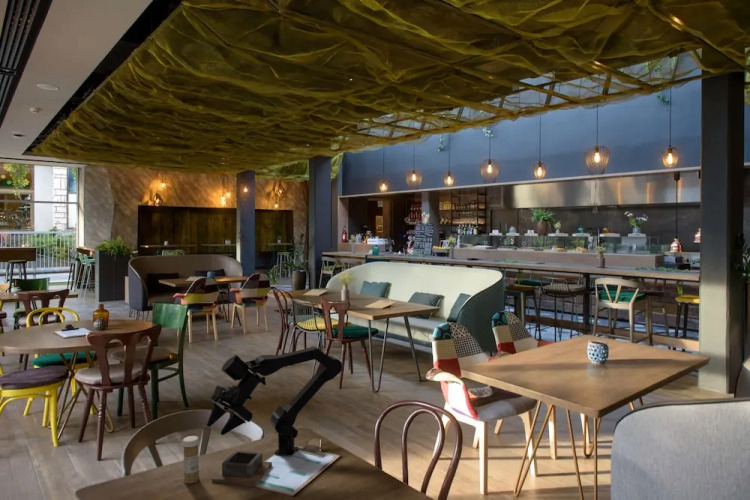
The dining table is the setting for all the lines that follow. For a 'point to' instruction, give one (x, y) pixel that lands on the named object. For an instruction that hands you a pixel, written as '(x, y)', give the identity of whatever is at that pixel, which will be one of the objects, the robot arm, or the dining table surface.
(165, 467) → the dining table surface
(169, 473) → the dining table surface
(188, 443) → the sprinkles bottle
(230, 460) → the socket board
